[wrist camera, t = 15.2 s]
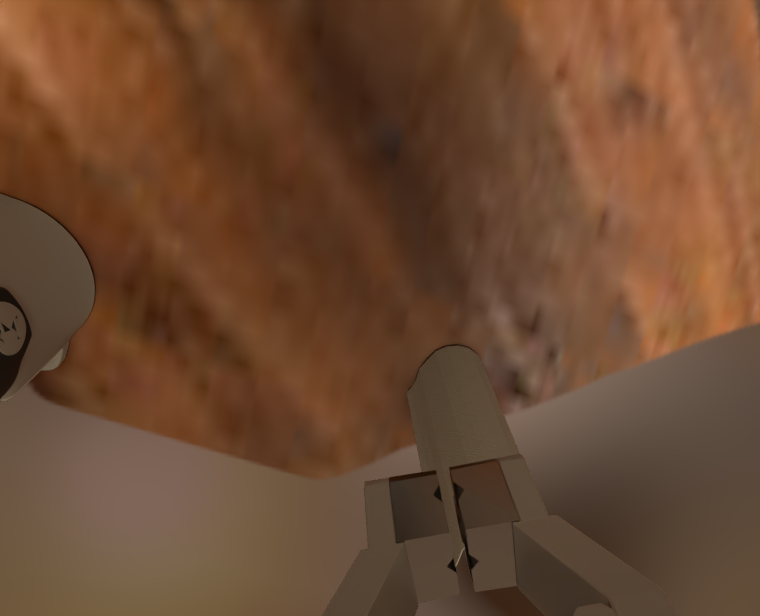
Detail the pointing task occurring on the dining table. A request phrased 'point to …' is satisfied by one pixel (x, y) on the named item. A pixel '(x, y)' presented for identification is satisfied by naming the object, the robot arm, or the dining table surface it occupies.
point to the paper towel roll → (456, 422)
